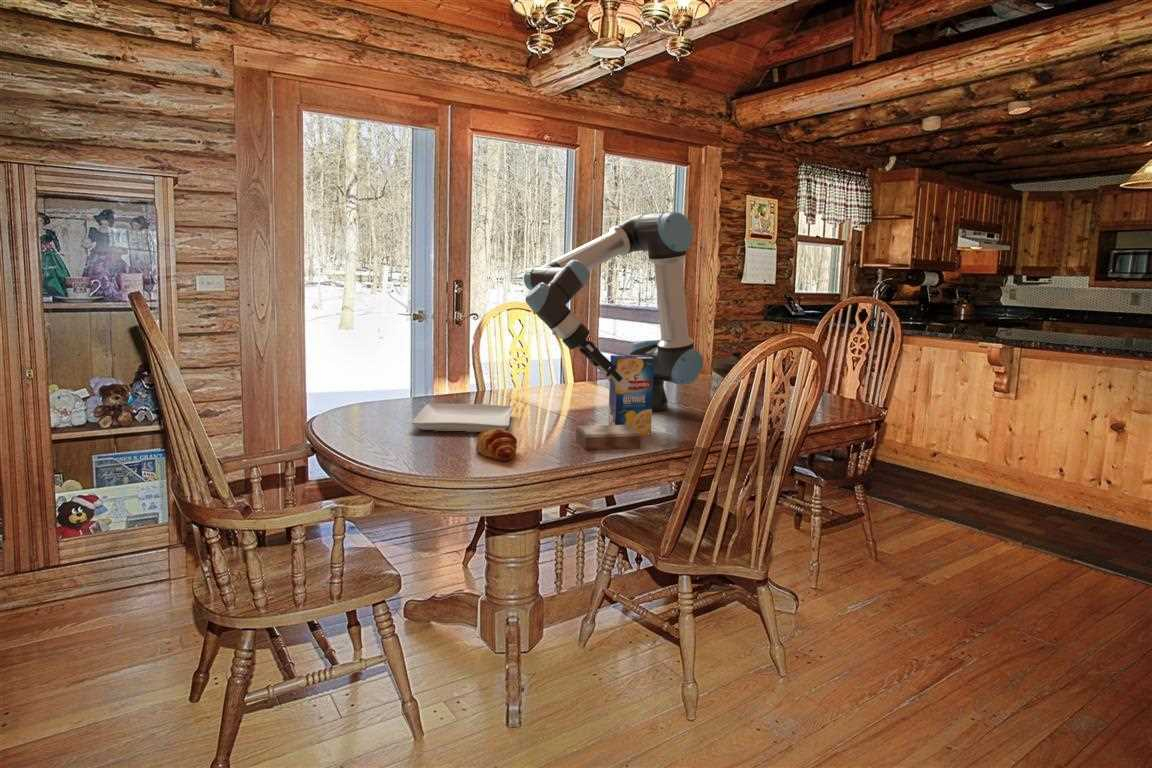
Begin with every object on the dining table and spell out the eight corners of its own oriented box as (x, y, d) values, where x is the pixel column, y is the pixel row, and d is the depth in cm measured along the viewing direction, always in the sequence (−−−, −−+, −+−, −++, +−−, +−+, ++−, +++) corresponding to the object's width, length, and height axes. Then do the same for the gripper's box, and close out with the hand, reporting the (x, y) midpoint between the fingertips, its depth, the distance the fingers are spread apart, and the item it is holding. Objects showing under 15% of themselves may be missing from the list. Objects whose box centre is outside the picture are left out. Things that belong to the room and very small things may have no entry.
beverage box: (651, 434, 206) (654, 358, 202) (614, 435, 203) (617, 358, 200) (642, 428, 213) (646, 355, 209) (607, 429, 210) (610, 355, 206)
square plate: (410, 434, 198) (410, 421, 198) (427, 414, 225) (427, 402, 225) (508, 437, 199) (508, 423, 199) (513, 416, 226) (514, 404, 226)
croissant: (474, 457, 190) (460, 431, 187) (506, 437, 193) (493, 412, 190) (499, 477, 170) (483, 450, 168) (534, 455, 173) (519, 428, 171)
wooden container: (704, 410, 242) (708, 346, 238) (747, 411, 243) (751, 347, 239) (715, 420, 227) (720, 351, 224) (761, 421, 228) (766, 352, 225)
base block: (628, 438, 200) (628, 424, 200) (640, 448, 190) (640, 433, 189) (575, 439, 197) (576, 425, 196) (585, 449, 186) (585, 434, 186)
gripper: (553, 335, 211) (600, 385, 216) (570, 345, 186) (623, 401, 192) (571, 317, 211) (618, 368, 216) (591, 325, 187) (643, 381, 192)
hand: (620, 384), depth 204 cm, fingers open, 13 cm apart
